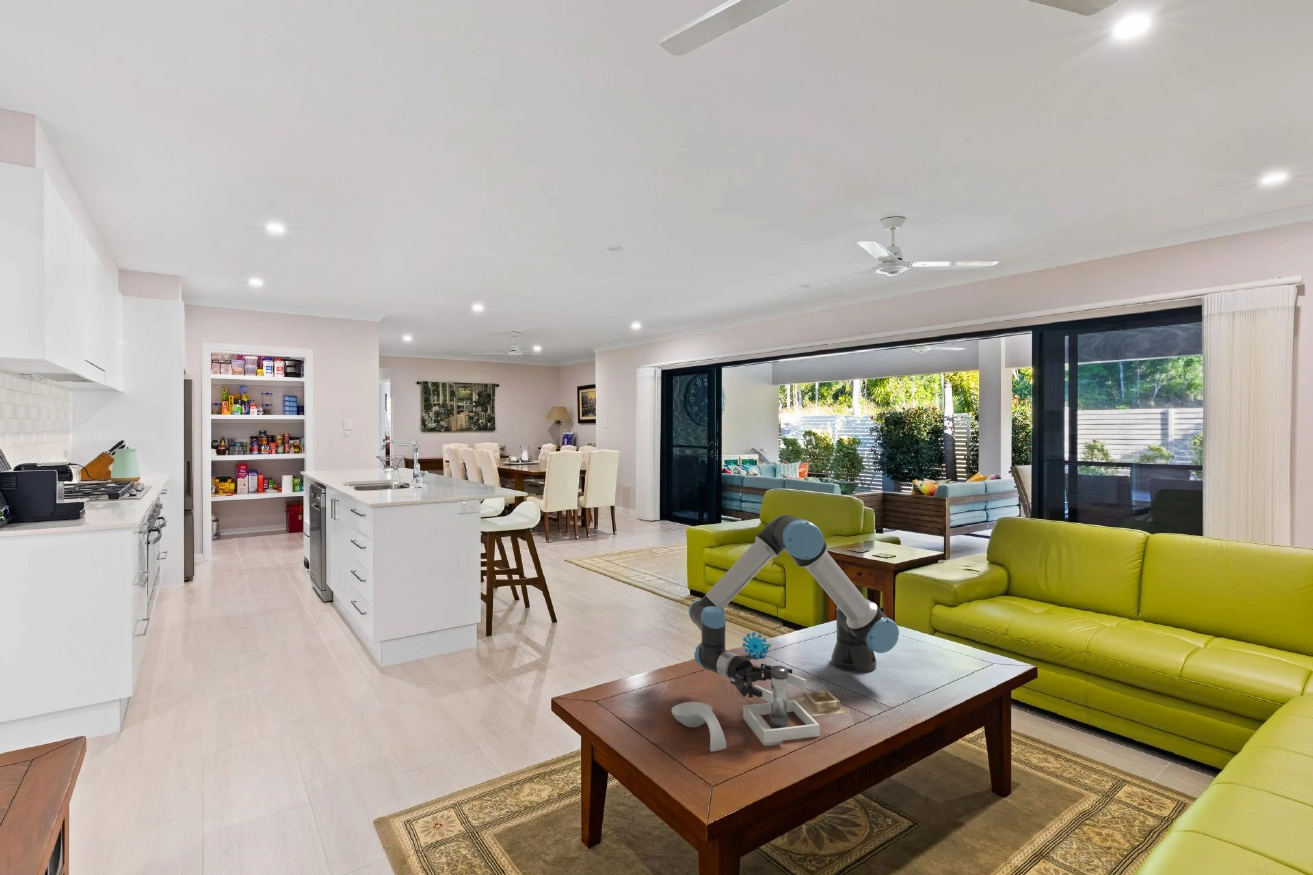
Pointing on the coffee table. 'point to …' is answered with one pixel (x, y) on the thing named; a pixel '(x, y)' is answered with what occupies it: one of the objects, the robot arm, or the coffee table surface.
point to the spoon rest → (701, 721)
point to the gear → (756, 645)
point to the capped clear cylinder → (779, 696)
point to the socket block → (821, 703)
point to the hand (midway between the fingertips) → (789, 691)
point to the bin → (778, 735)
